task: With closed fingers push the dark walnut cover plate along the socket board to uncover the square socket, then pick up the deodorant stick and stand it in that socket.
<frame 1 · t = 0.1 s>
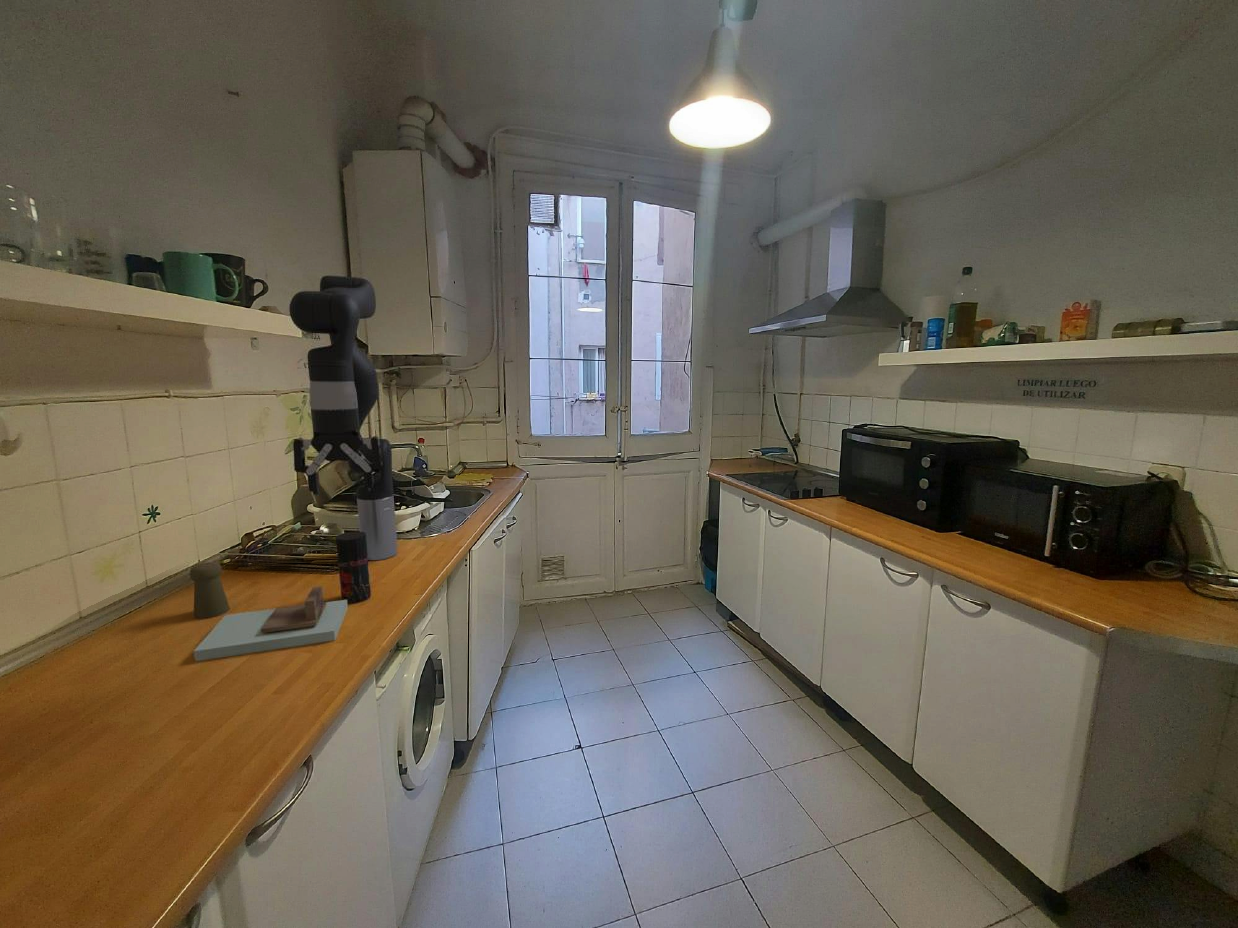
hand: (342, 492, 92), 29 cm above the worktop, fingers open, 8 cm apart
cover: (294, 607, 97), point 5 cm above the worktop, slide at 0.0 cm
deodorant: (356, 598, 112), on the worktop
socket board: (279, 631, 97), on the worktop
cork: (212, 613, 104), on the worktop
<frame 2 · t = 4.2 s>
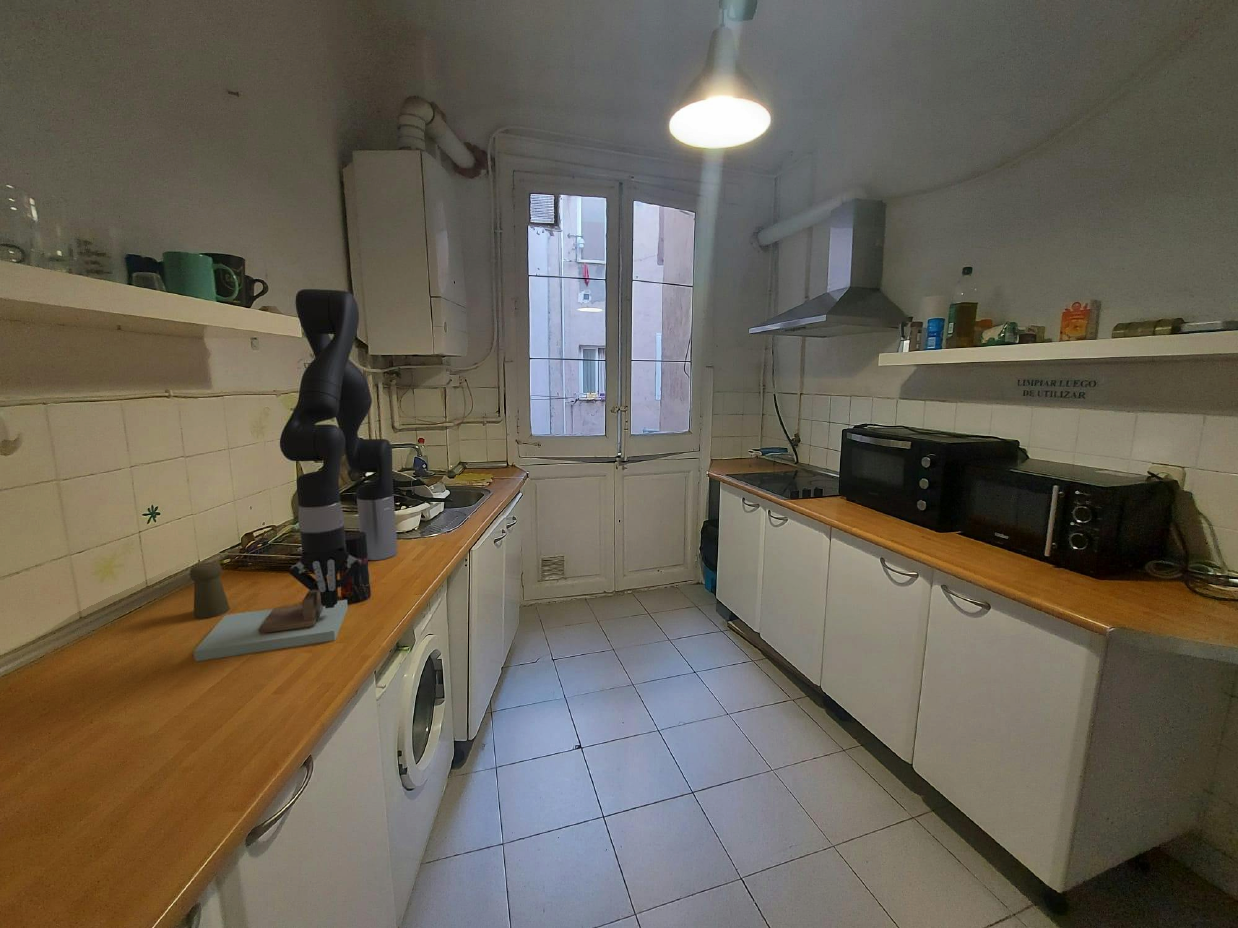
hand: (330, 606, 99), 4 cm above the worktop, fingers closed
cover: (292, 607, 97), point 5 cm above the worktop, slide at 0.4 cm, touching gripper
everything else where it was.
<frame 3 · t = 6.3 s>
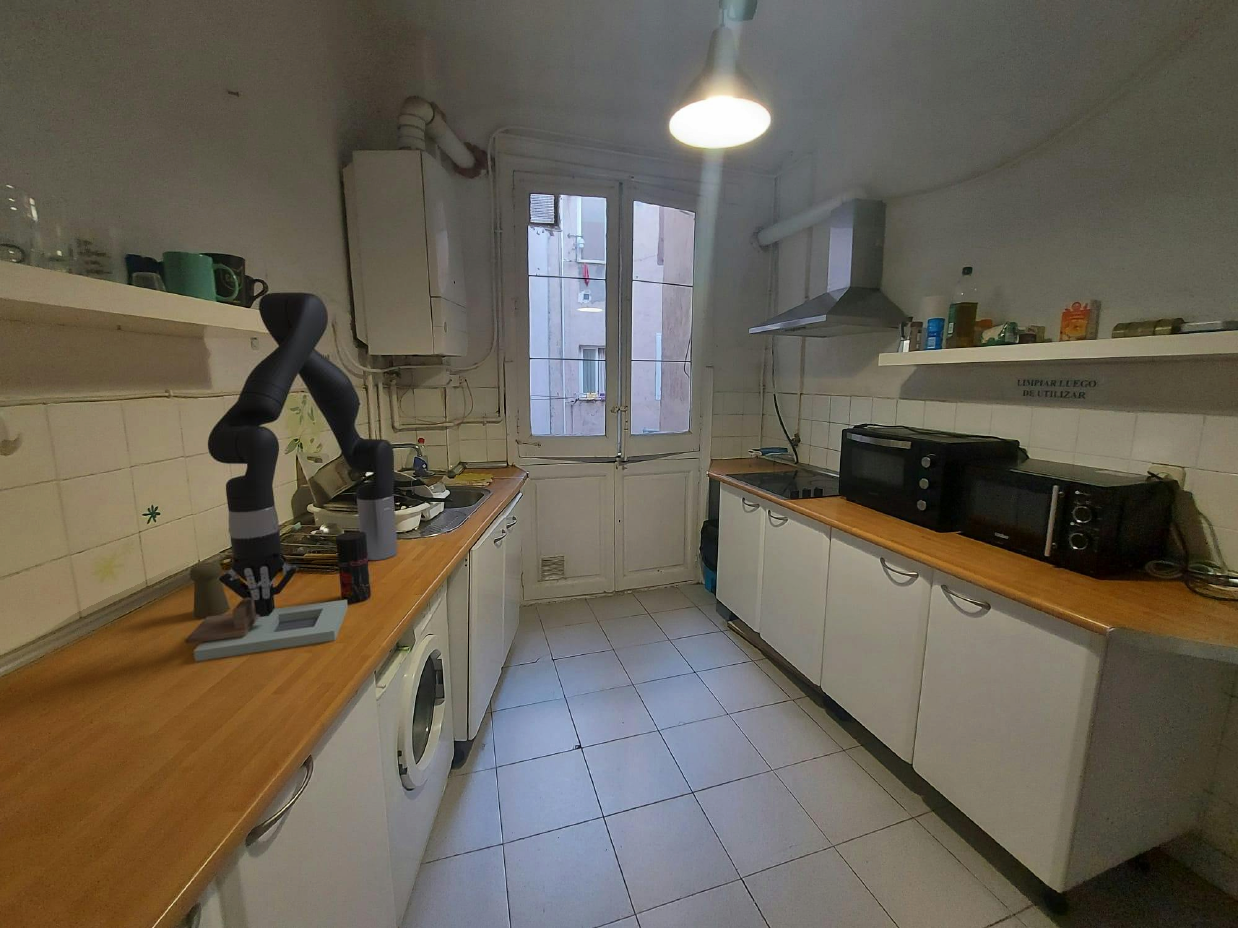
hand: (265, 614, 95), 4 cm above the worktop, fingers closed
cover: (224, 616, 93), point 5 cm above the worktop, slide at 11.6 cm, touching gripper
everything else where it was.
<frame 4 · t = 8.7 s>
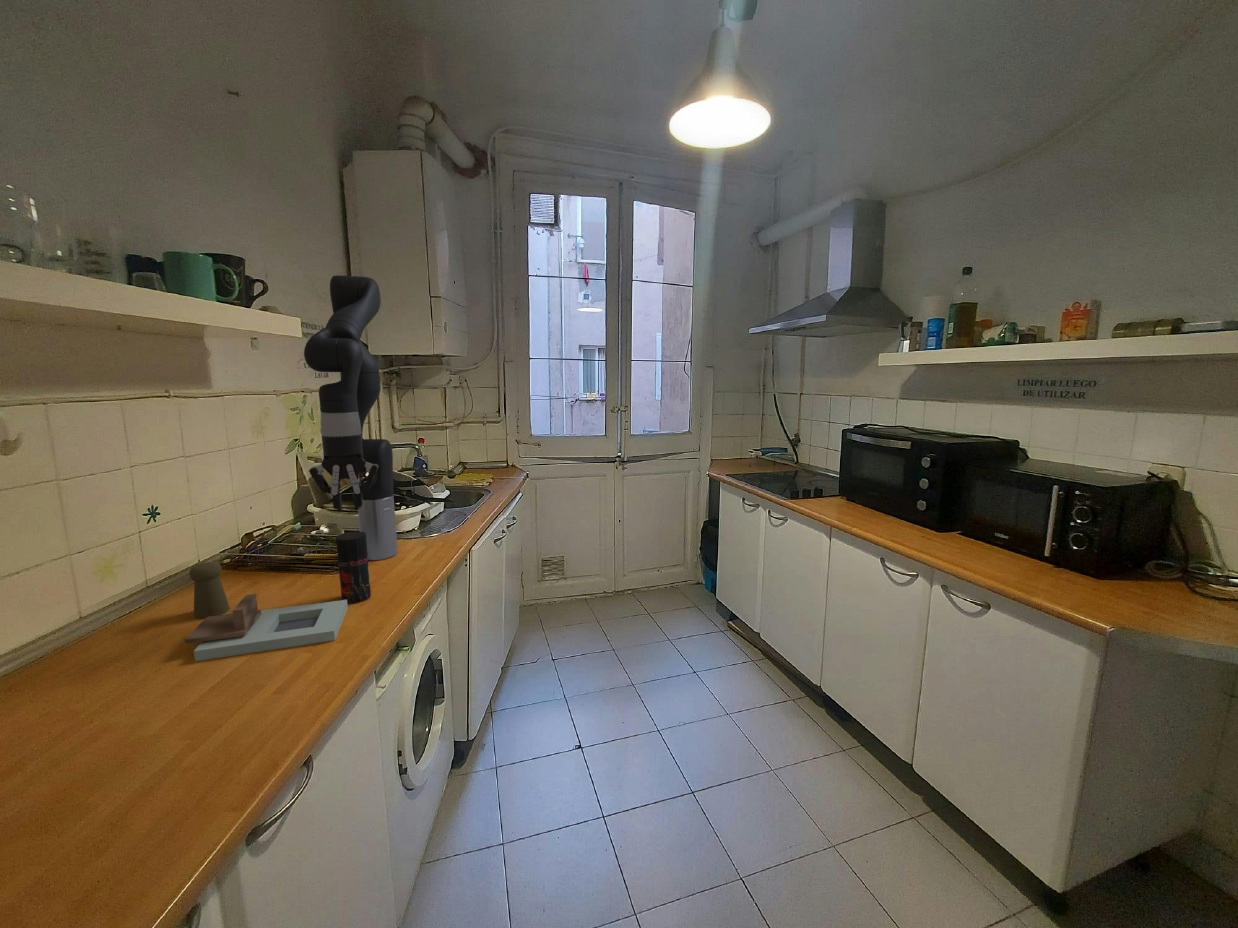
hand: (348, 509, 108), 21 cm above the worktop, fingers open, 3 cm apart
cover: (224, 616, 93), point 5 cm above the worktop, slide at 11.6 cm
everything else where it was.
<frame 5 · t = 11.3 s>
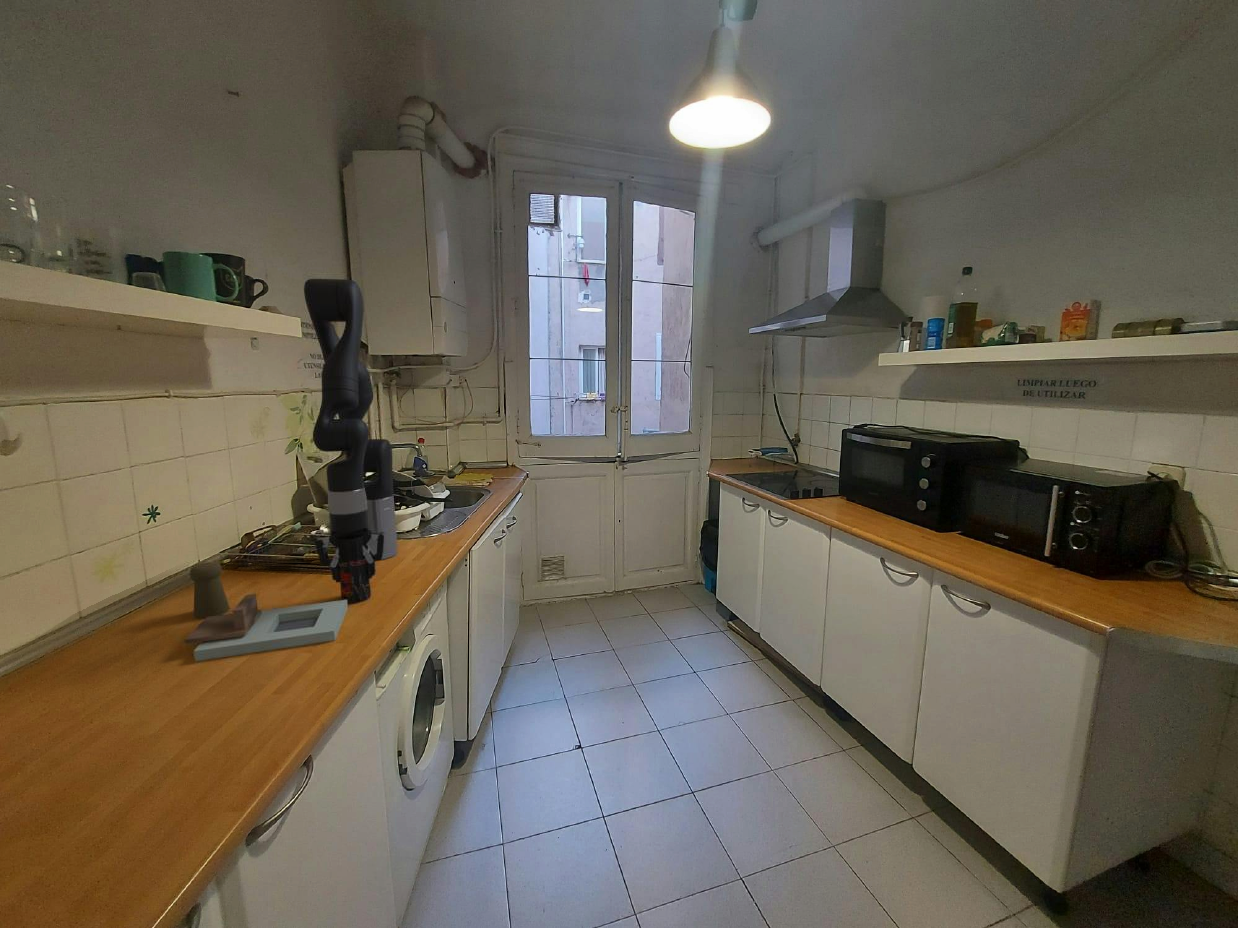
hand: (354, 578, 111), 5 cm above the worktop, fingers closed on deodorant, 6 cm apart
deodorant: (356, 598, 112), on the worktop, touching gripper
everything else where it was.
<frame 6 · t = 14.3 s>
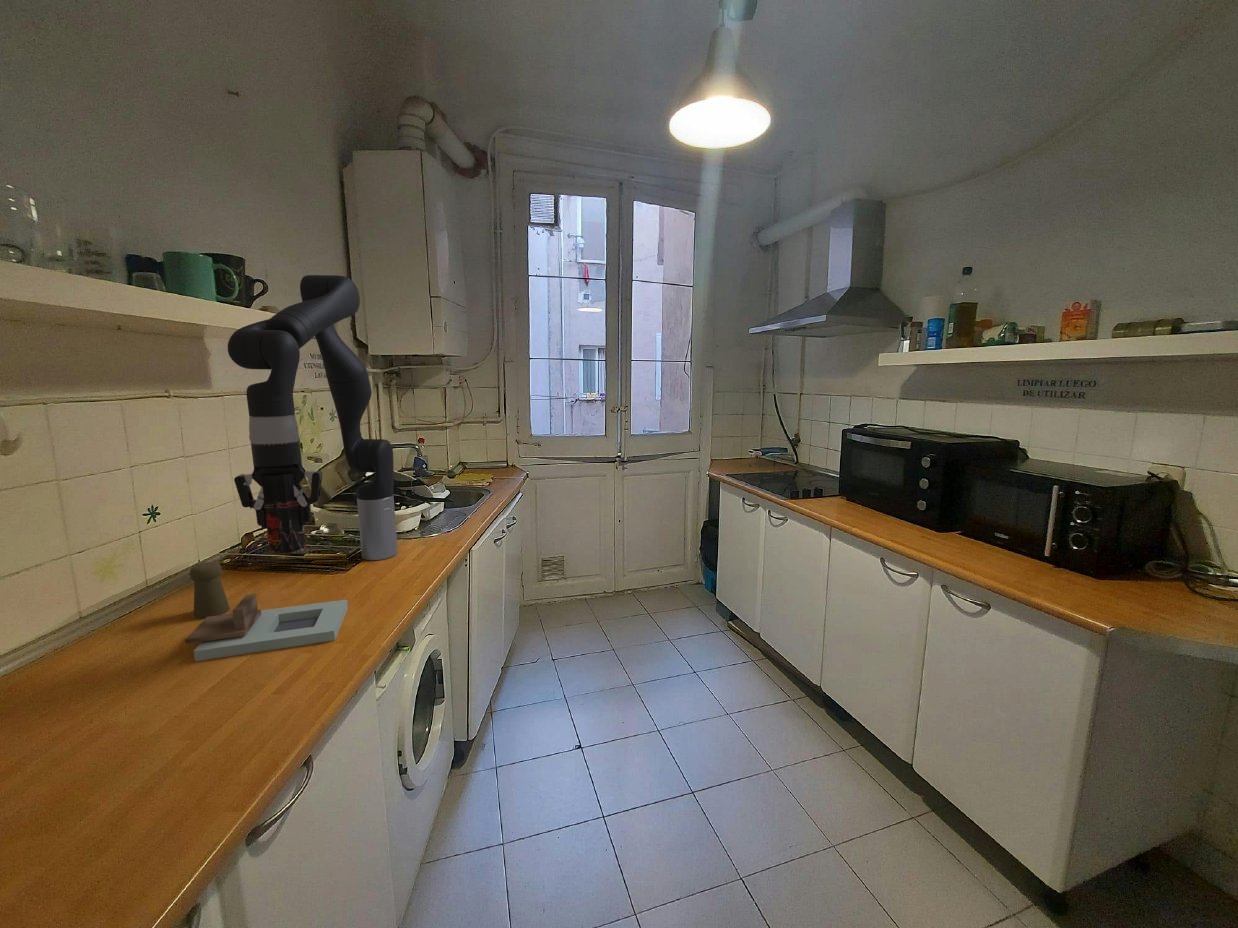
hand: (285, 525, 94), 22 cm above the worktop, fingers closed on deodorant, 6 cm apart
deodorant: (288, 548, 95), point 17 cm above the worktop, touching gripper
everything else where it was.
when the fingers open (6 cm above the worktop, at t = 17.6 s): deodorant drops 1 cm, resting on socket board.
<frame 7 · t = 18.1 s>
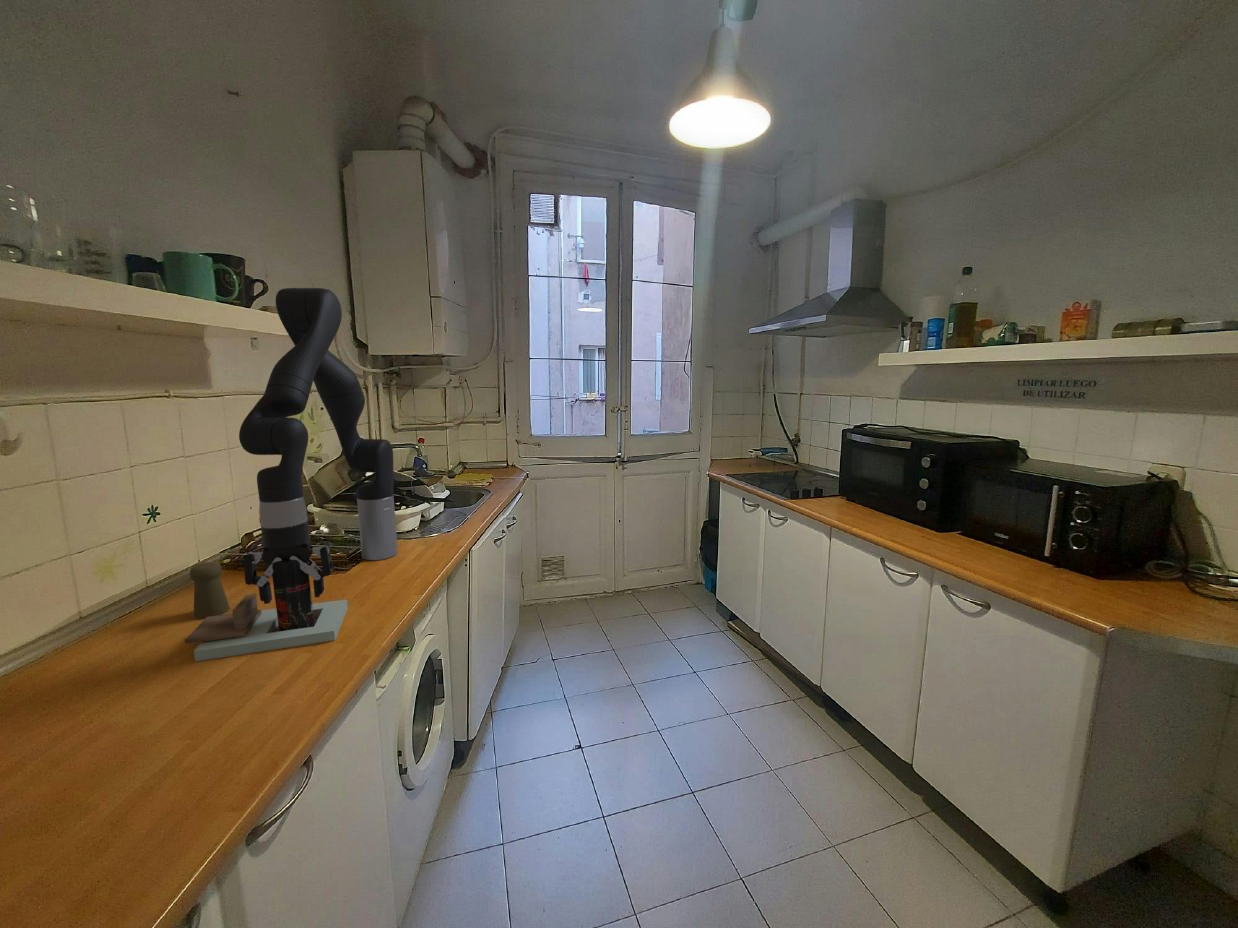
hand: (293, 598, 97), 7 cm above the worktop, fingers open, 8 cm apart
deodorant: (297, 628, 98), resting on socket board
everything else where it was.
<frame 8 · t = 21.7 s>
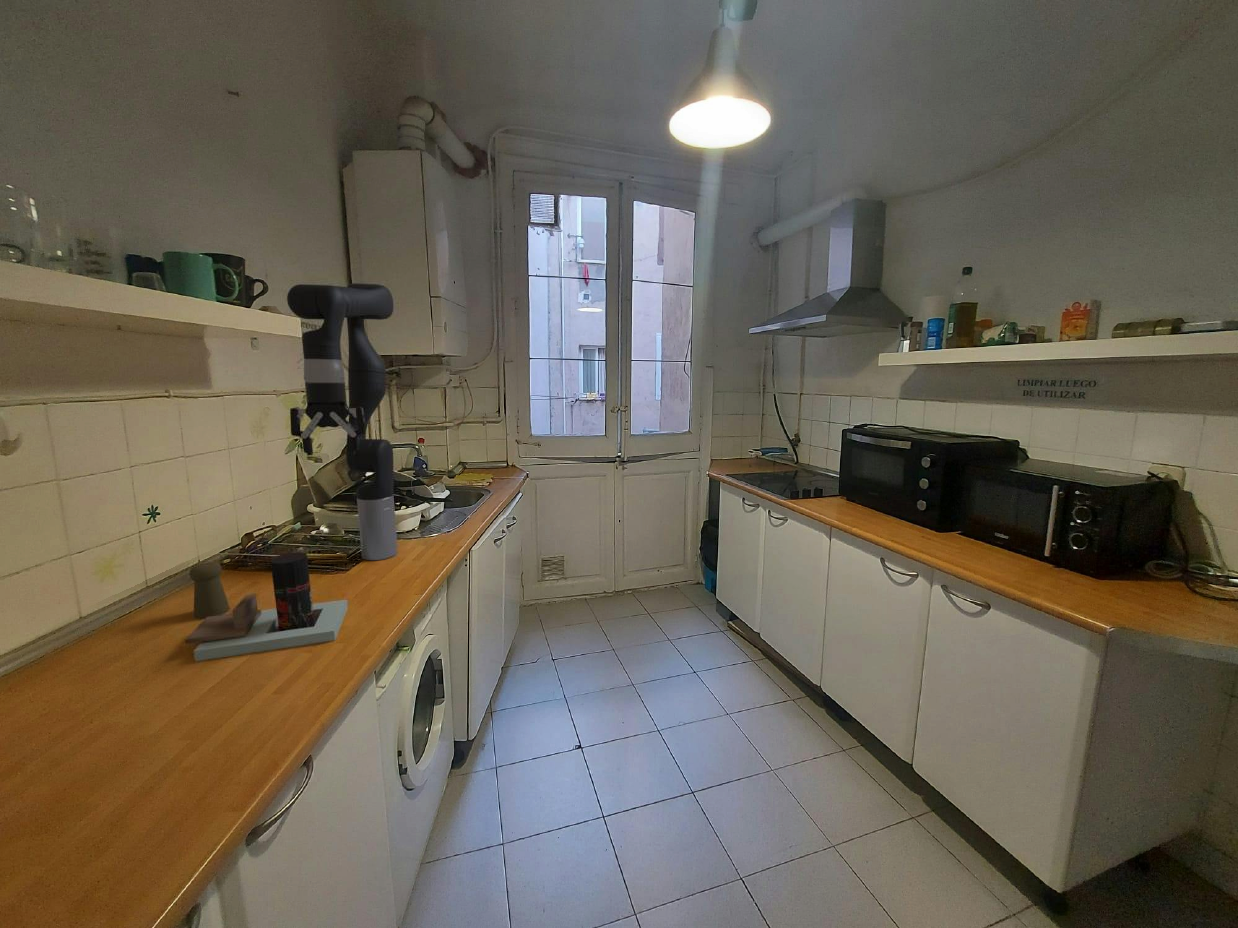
hand: (332, 454, 109), 33 cm above the worktop, fingers open, 8 cm apart
nothing on the worktop moved.
at the end: cover slide at 11.6 cm; deodorant 0.1 cm from the target spot on the socket board, point 0.0 cm above the socket board's base; deodorant tilted 0° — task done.
